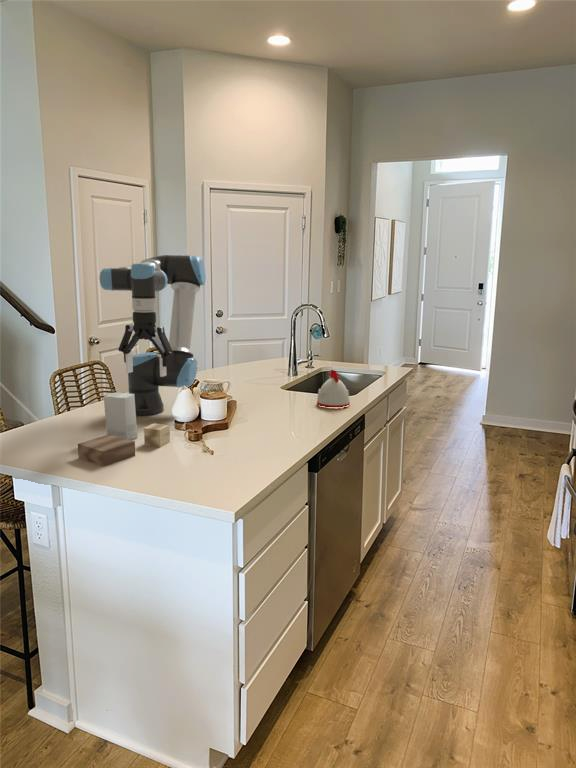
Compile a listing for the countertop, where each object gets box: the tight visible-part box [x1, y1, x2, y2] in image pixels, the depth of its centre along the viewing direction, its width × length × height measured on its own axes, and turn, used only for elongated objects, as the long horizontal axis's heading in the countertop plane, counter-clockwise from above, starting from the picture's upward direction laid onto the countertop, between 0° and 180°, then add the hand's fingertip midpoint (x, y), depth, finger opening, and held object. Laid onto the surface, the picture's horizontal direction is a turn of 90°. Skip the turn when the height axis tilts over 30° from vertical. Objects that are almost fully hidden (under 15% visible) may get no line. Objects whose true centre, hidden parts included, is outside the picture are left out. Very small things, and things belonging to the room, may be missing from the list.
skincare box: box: [103, 392, 138, 441], centre depth 197 cm, size 8×7×16 cm
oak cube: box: [143, 422, 171, 448], centre depth 195 cm, size 6×6×6 cm
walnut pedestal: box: [77, 434, 136, 467], centre depth 181 cm, size 12×12×5 cm
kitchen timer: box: [316, 369, 350, 407], centre depth 249 cm, size 14×14×15 cm
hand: (146, 374), depth 198 cm, fingers open, 13 cm apart
